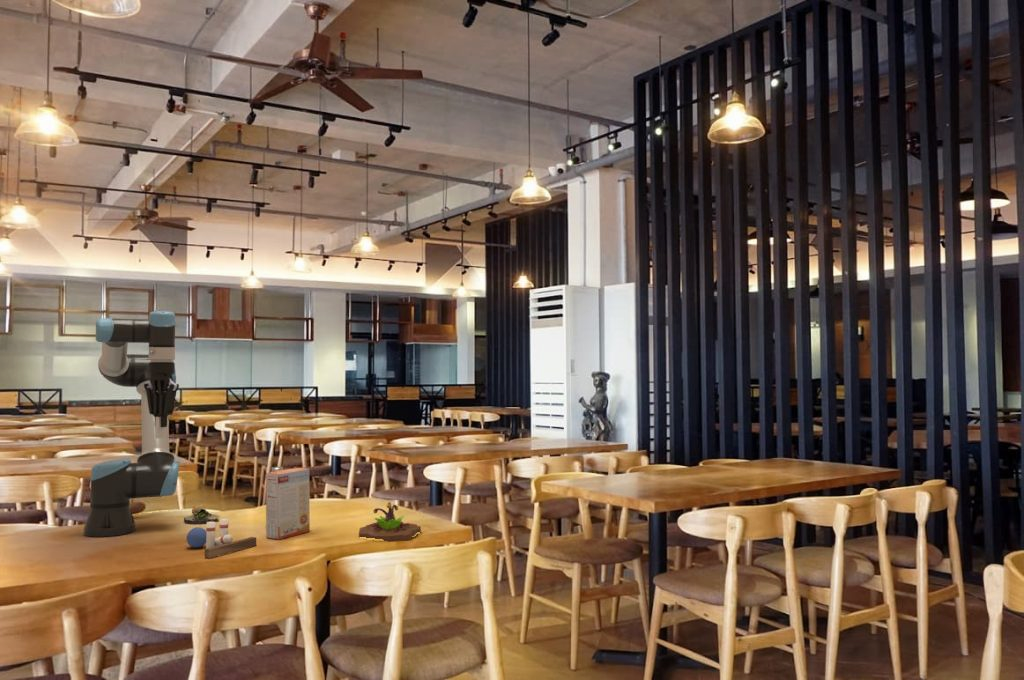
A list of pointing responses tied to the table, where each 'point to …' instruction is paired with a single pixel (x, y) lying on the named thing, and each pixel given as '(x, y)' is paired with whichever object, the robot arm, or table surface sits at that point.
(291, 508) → the cracker box
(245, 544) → the back rail
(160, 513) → the table surface
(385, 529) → the plant
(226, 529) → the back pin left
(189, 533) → the ball
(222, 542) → the front pin
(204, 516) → the dish garden
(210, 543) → the back pin right
